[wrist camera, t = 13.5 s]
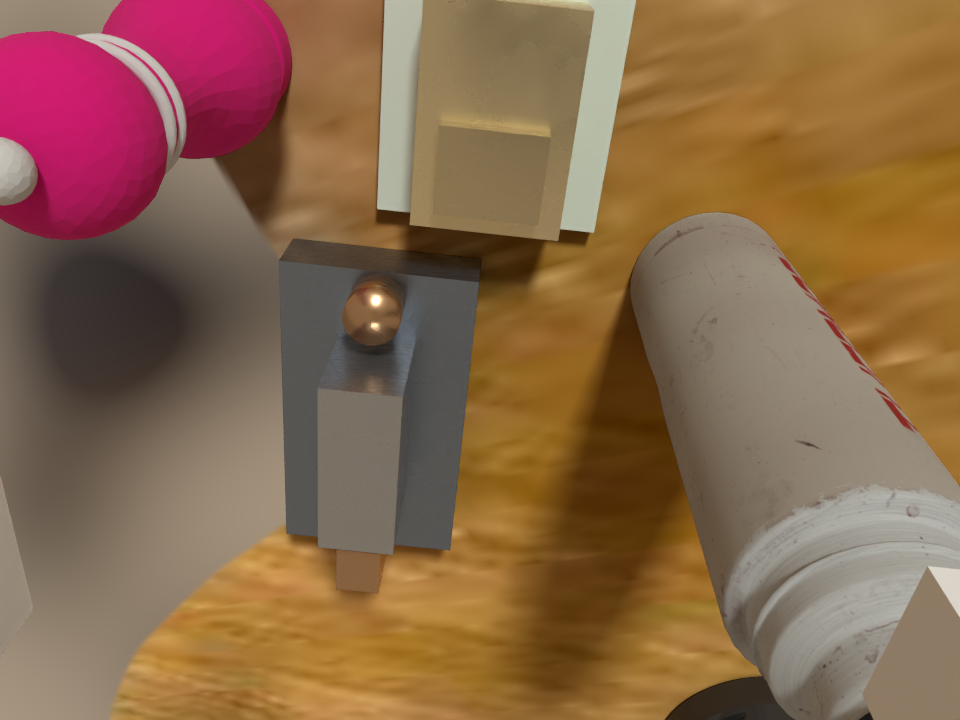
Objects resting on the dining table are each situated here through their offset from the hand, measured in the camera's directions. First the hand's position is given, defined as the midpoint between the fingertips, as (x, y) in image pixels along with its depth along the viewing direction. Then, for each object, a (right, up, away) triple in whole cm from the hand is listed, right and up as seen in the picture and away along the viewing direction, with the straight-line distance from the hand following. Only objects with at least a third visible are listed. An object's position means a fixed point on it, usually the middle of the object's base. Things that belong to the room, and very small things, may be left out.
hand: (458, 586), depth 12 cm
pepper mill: (-12, +18, +26) cm, 34 cm away
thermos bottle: (+12, +7, +31) cm, 34 cm away
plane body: (-5, +1, +35) cm, 36 cm away
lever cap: (+1, +15, +26) cm, 30 cm away
